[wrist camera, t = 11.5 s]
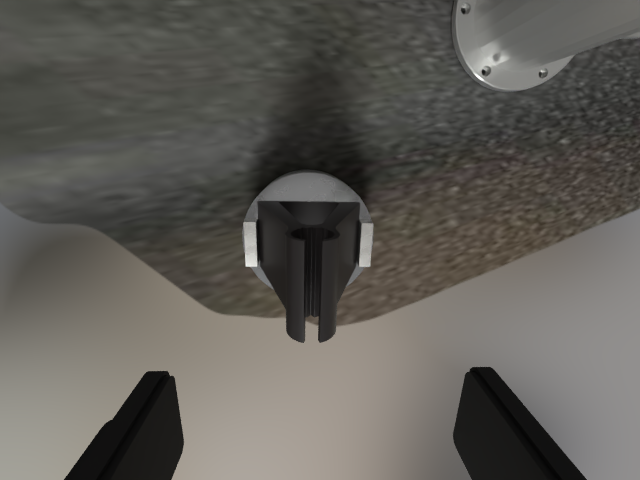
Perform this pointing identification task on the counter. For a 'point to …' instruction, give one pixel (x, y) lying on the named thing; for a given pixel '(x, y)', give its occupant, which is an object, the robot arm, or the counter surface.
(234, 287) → the counter surface
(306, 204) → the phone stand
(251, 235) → the grey short round piece
